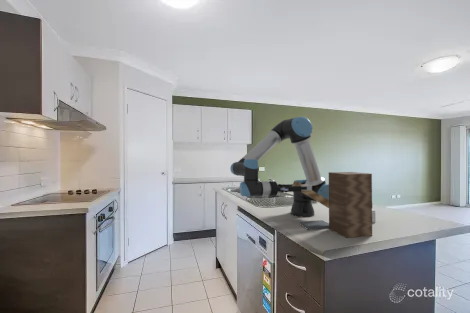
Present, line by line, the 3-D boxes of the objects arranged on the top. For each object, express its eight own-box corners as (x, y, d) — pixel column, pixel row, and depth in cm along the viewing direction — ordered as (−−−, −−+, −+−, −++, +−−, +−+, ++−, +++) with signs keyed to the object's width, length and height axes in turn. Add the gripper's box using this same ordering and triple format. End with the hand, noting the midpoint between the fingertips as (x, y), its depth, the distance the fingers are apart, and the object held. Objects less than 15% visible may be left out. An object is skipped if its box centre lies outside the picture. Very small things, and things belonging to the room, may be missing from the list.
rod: (294, 187, 125) (297, 181, 125) (291, 186, 128) (294, 180, 128) (332, 209, 129) (335, 203, 129) (328, 208, 132) (331, 202, 133)
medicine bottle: (375, 223, 134) (375, 202, 134) (362, 222, 135) (361, 201, 135) (370, 219, 141) (370, 200, 141) (358, 219, 142) (357, 199, 142)
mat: (308, 229, 123) (308, 226, 123) (299, 224, 133) (299, 221, 133) (332, 227, 125) (332, 225, 125) (322, 222, 135) (322, 220, 135)
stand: (346, 238, 110) (345, 174, 110) (329, 229, 124) (328, 172, 124) (372, 235, 113) (371, 173, 113) (352, 227, 126) (351, 171, 126)
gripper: (264, 193, 132) (302, 191, 136) (274, 198, 116) (317, 196, 120) (263, 180, 132) (302, 179, 136) (274, 183, 116) (317, 182, 120)
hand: (309, 187), depth 128 cm, fingers closed on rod, 3 cm apart
